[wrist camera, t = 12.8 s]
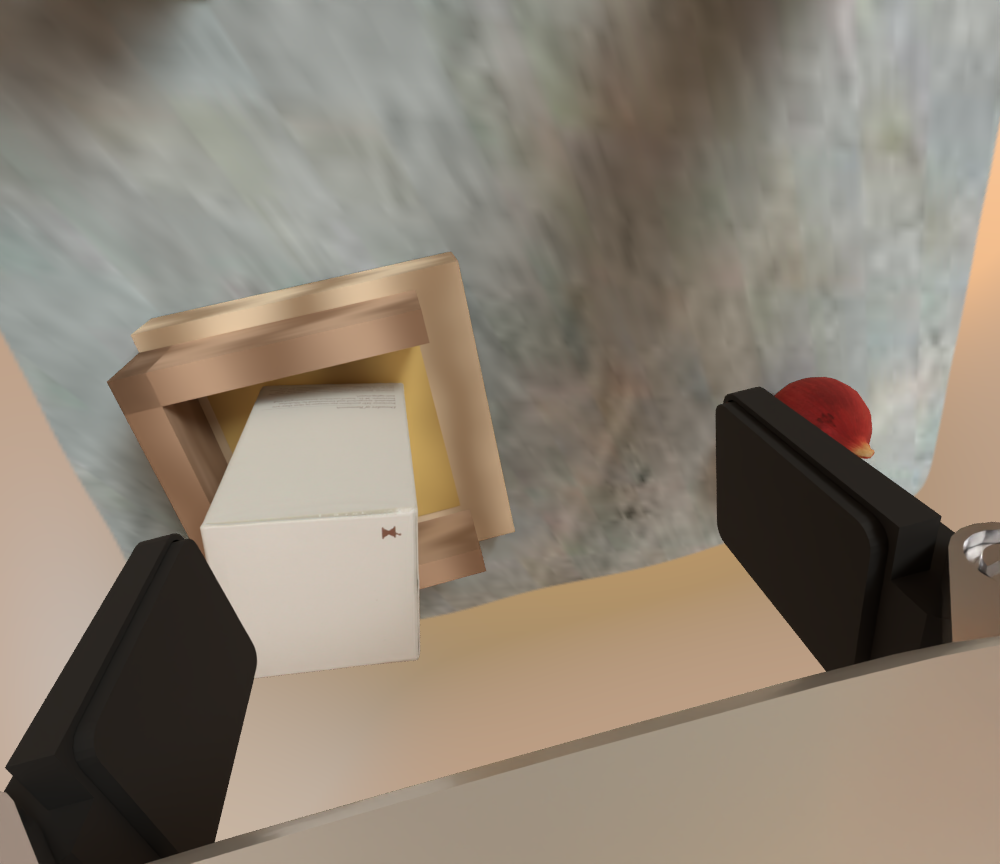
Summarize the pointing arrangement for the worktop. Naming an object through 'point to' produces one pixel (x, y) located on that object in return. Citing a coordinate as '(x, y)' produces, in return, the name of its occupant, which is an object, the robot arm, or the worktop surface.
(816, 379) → the onion
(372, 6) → the worktop surface
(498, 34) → the worktop surface
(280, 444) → the supplement box
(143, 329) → the wooden tray
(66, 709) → the robot arm
